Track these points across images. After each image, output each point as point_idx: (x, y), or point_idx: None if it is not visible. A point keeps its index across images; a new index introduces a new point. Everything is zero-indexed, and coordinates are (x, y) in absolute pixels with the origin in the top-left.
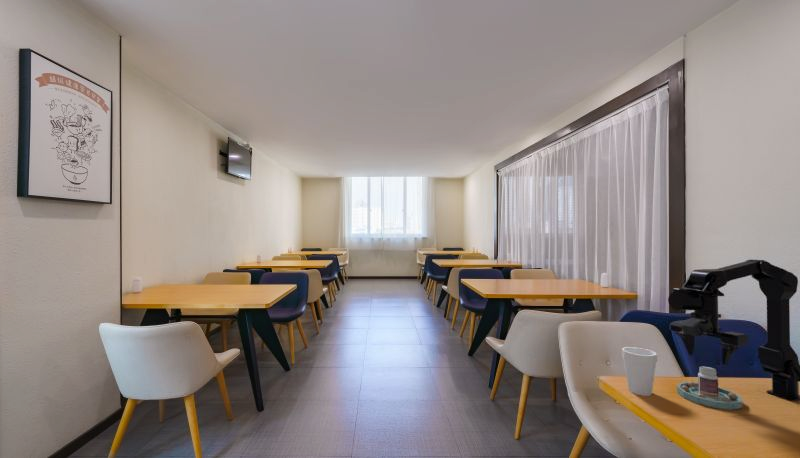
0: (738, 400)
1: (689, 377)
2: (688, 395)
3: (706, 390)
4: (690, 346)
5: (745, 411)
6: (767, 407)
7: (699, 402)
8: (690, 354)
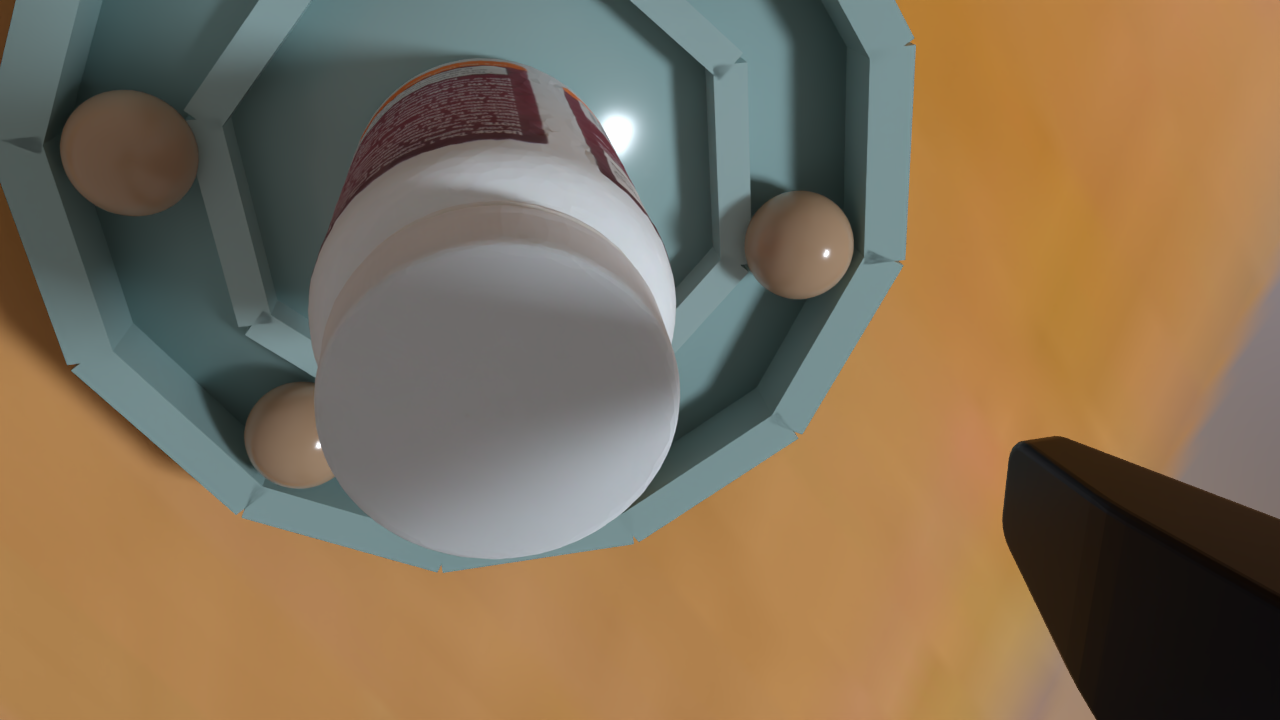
0: (110, 351)
1: None
2: None
3: (416, 99)
4: (1241, 705)
5: (3, 264)
6: (136, 657)
7: None
8: (1030, 454)
